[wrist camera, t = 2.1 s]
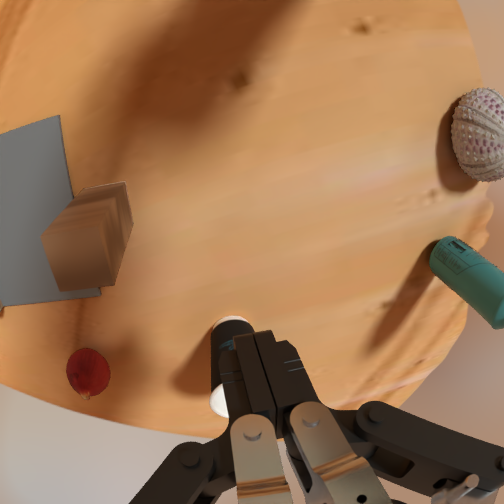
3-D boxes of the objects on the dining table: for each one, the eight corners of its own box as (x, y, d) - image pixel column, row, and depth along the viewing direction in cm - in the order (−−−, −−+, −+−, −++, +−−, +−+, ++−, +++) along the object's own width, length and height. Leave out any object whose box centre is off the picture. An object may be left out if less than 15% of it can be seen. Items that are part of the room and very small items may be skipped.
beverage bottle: (422, 275, 42) (508, 362, 25) (420, 240, 39) (522, 328, 21) (452, 256, 42) (538, 332, 25) (451, 221, 38) (552, 296, 21)
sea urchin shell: (437, 86, 29) (486, 93, 22) (494, 85, 29) (535, 93, 22) (444, 183, 35) (486, 205, 28) (496, 167, 36) (534, 184, 29)
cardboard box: (83, 188, 27) (40, 236, 17) (125, 180, 27) (97, 226, 18) (92, 230, 29) (60, 292, 19) (133, 223, 30) (114, 285, 20)
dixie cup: (238, 294, 36) (260, 364, 27) (273, 330, 40) (298, 395, 31) (186, 328, 37) (192, 401, 28) (224, 359, 41) (239, 426, 32)
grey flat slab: (-54, 159, 20) (-67, 164, 18) (59, 114, 23) (49, 117, 21) (-6, 305, 30) (-13, 317, 27) (101, 293, 32) (97, 307, 30)
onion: (77, 364, 37) (68, 409, 30) (68, 334, 34) (54, 380, 27) (116, 366, 38) (110, 413, 31) (109, 337, 35) (101, 385, 28)
